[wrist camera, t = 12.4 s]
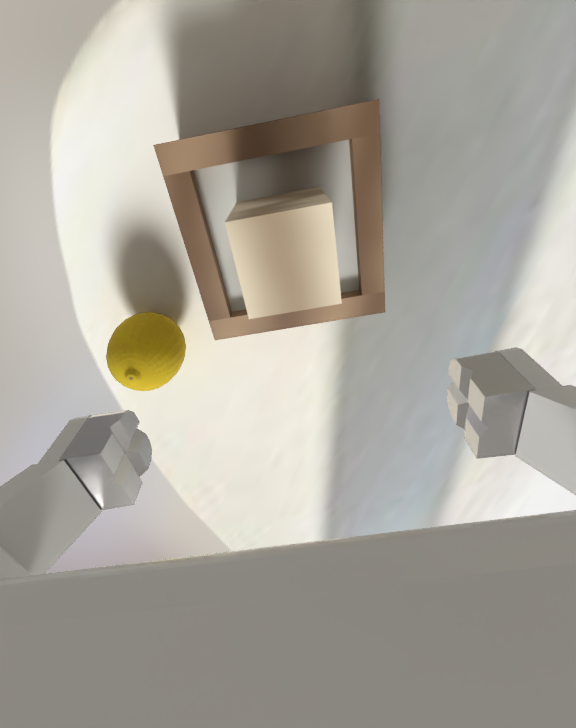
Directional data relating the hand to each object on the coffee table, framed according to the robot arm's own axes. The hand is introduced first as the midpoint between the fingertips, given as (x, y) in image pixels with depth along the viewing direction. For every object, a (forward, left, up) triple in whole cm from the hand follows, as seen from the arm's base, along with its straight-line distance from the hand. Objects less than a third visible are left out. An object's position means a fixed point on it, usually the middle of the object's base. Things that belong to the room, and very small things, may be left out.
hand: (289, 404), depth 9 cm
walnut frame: (0, 0, -22) cm, 22 cm away
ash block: (0, 0, -17) cm, 17 cm away
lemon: (+12, +7, -22) cm, 26 cm away
